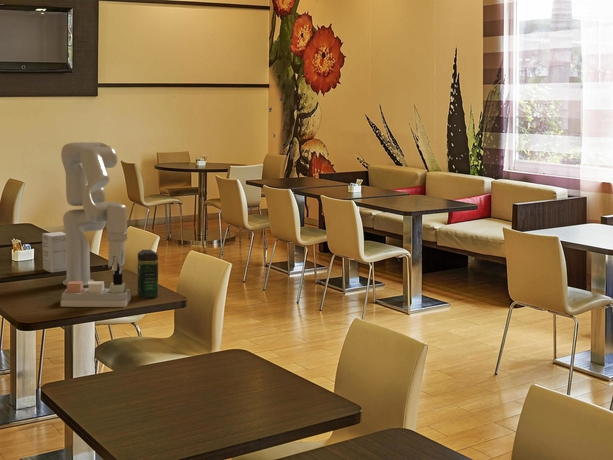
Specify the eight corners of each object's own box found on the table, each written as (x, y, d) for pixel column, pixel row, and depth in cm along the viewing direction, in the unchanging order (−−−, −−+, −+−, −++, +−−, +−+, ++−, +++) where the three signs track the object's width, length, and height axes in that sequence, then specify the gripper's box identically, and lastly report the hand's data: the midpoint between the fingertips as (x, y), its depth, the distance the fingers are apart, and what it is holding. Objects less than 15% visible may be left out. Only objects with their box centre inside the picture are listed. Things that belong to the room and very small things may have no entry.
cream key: (91, 290, 318) (90, 281, 317) (104, 290, 318) (104, 281, 318) (88, 293, 313) (88, 284, 313) (101, 293, 313) (101, 284, 313)
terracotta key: (70, 290, 317) (69, 281, 317) (83, 290, 318) (83, 281, 317) (67, 292, 313) (66, 283, 312) (80, 293, 313) (80, 284, 312)
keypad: (68, 298, 322) (68, 287, 321) (130, 299, 323) (130, 287, 323) (60, 306, 309) (60, 294, 308) (125, 306, 311) (125, 295, 310)
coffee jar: (159, 298, 326) (159, 252, 323) (139, 299, 323) (139, 252, 321) (156, 293, 335) (155, 247, 332) (136, 294, 332) (136, 248, 330)
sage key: (112, 291, 319) (112, 282, 318) (125, 291, 319) (125, 282, 318) (109, 294, 314) (109, 285, 313) (123, 294, 314) (123, 285, 313)
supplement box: (62, 267, 383) (61, 231, 381) (70, 270, 376) (70, 234, 374) (42, 269, 377) (41, 233, 375) (50, 272, 370) (49, 235, 368)
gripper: (110, 233, 320) (111, 280, 323) (103, 239, 305) (104, 288, 308) (130, 234, 321) (130, 280, 323) (123, 239, 306) (124, 288, 308)
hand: (117, 284), depth 315 cm, fingers closed
